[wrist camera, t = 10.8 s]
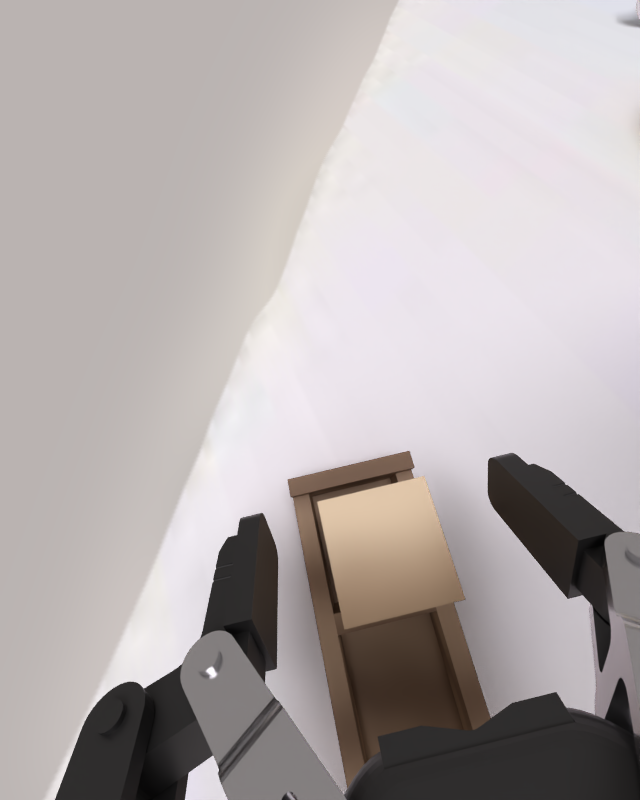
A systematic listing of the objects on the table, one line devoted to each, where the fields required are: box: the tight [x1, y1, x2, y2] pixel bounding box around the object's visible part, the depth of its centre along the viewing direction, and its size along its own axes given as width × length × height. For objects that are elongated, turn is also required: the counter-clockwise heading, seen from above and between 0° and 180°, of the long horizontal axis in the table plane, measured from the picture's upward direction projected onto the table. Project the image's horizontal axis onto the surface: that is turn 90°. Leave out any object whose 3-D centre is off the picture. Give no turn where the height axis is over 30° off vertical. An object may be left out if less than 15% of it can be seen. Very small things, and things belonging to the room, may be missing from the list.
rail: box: [288, 451, 491, 788], centre depth 14 cm, size 24×8×12 cm, turn 13°
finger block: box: [317, 476, 465, 630], centre depth 16 cm, size 4×4×11 cm
